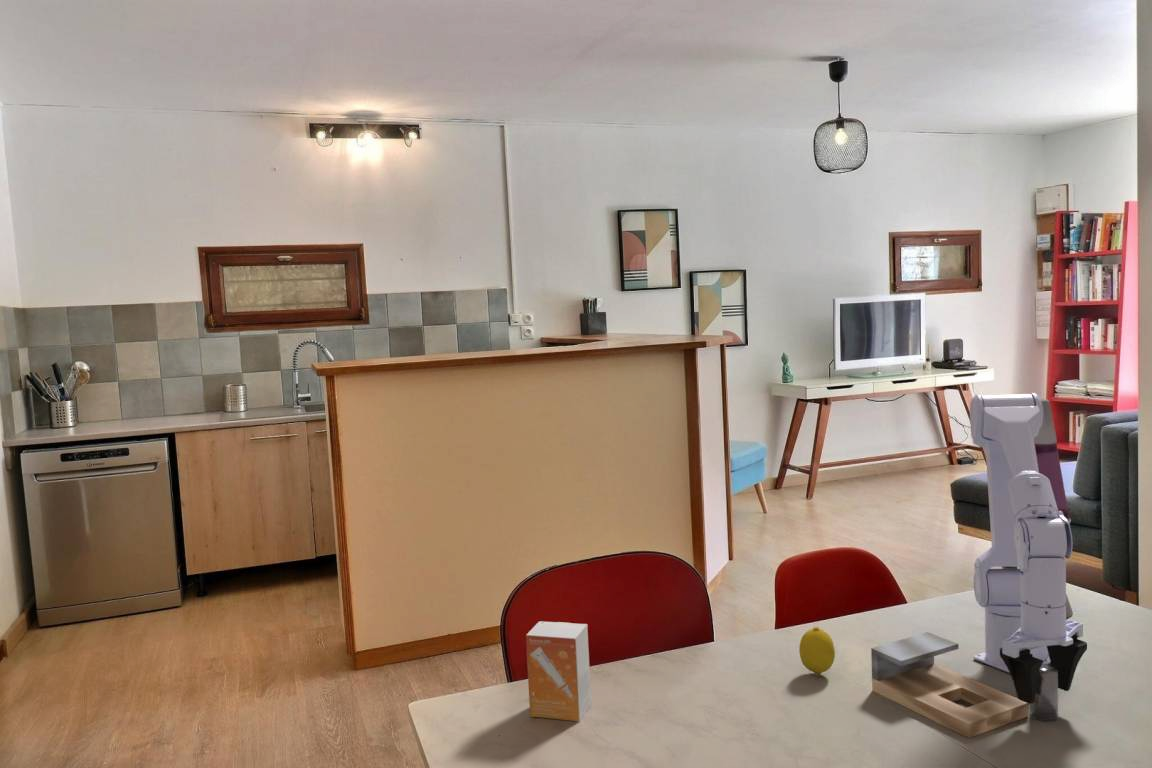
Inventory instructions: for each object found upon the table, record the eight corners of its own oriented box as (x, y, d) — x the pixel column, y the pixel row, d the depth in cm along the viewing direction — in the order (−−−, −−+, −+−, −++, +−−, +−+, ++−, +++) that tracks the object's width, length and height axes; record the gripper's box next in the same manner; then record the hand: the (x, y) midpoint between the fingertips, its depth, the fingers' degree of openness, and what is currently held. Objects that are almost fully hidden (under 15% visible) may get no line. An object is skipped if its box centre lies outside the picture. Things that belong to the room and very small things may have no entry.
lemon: (836, 682, 143) (835, 634, 142) (800, 681, 144) (799, 633, 143) (833, 668, 148) (832, 621, 147) (799, 667, 149) (797, 620, 149)
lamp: (1001, 600, 176) (999, 397, 172) (1060, 600, 174) (1059, 395, 170) (1018, 619, 165) (1016, 404, 162) (1082, 620, 163) (1081, 402, 160)
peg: (1040, 708, 131) (1040, 661, 130) (1063, 717, 128) (1063, 669, 127) (1024, 714, 129) (1023, 667, 129) (1046, 723, 126) (1046, 675, 125)
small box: (529, 718, 136) (524, 634, 135) (543, 699, 142) (538, 619, 141) (580, 722, 134) (575, 638, 133) (592, 704, 140) (588, 622, 139)
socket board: (928, 673, 144) (927, 632, 144) (1028, 716, 128) (1027, 670, 128) (872, 690, 139) (871, 648, 139) (969, 738, 123) (968, 690, 123)
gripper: (1033, 619, 120) (1034, 717, 121) (1103, 599, 126) (1103, 692, 128) (988, 605, 126) (990, 698, 128) (1057, 586, 133) (1057, 675, 134)
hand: (1043, 694), depth 128 cm, fingers open, 7 cm apart
